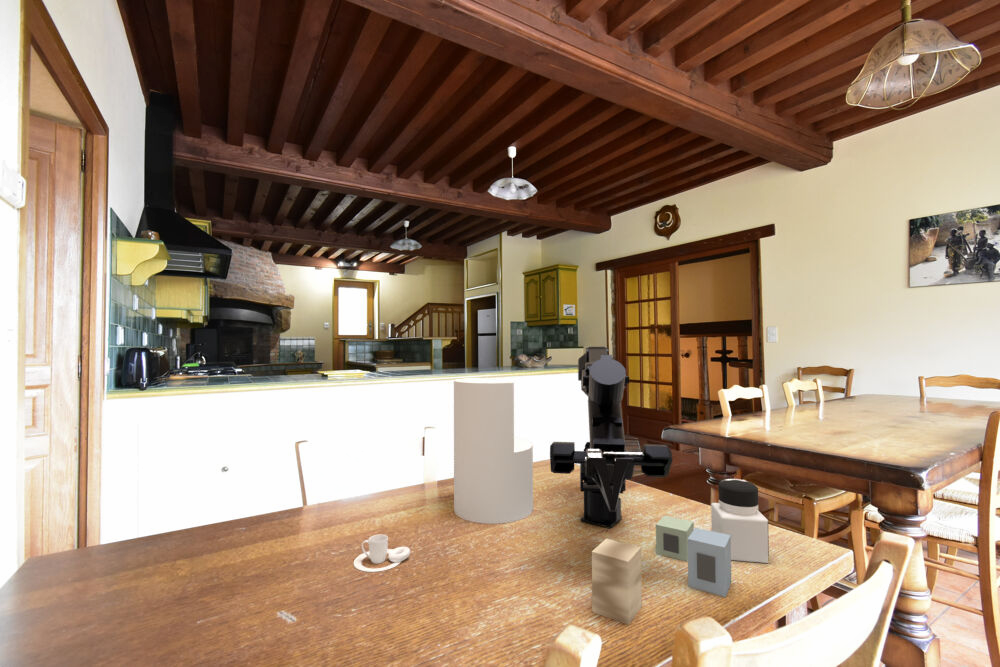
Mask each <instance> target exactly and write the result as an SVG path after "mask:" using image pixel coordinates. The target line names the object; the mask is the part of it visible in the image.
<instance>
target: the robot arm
mask: <svg viewBox="0 0 1000 667" xmlns="http://www.w3.org/2000/svg"><path fill="white" fill-rule="evenodd" d="M577 361H578V362H577V380H578V381H579V382H580V387H581V388H580V389H581V391H582V392H583V393H584V394H585V395H586V396H587V406H588V407H587V409H588V430H589V433H588V434H589V441H586V443H585V444H584V449H583V450H576V449H575V448H576V447H575V446H576V445H575V442H574V441H573V442H572V441H571V442H570V441H553V442H552V443H551V444H550V446H549V461H550V465H549V466H550V472H551V473H553V474H566V475H568V474H569V475H570V474H571V473H573V471H575V465H576V464H577V465H579V489H580V492H582V493H583V516H581V517H580V519H579V520H580V521H581V522H585V523H587V524H588V523H589V524H592V525H596V526H600V527H603V528H604V527H605V528H612V527H613V526H615V525H616V524H617V523H618V522H620V520H622V518H623V517H622V499H621V497H620V494H624V492H626V490H627V489H626V485H627V484H626V482H627V480H629V481H630V480H632V478H633V475H634V469H635V466H640V468H641V469H640V470H641V473H642V474H643V475H645V477H647V478H648V477H649V478H650V477H651V478H665V477H668V476H669V473H670V470H671V467H672V464H673V460H674V458H673V453H672V450H671V448H669V447H668V445H666V444H651V443H649V444H647V443H645V444H643V447H642V450H641V452H636V451H635V452H632V451H627V447H626V440H625V439H626V437H625V429H624V420H623V410H622V401H623V398H624V391H625V388H627V384H628V385H629V384H630V376H628V375H627V374H626V373H627V371H626V368H625V367H624V365H623V364H622V363H621V362H619V361H618V360H615V359H614V358H613V355H612V354H610V352H609V347H606V346H588V347H585V352H584V354H583V355H581V356H580V357H579V358H578V360H577Z"/></svg>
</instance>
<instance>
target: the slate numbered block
mask: <svg viewBox="0 0 1000 667" xmlns="http://www.w3.org/2000/svg"><path fill="white" fill-rule="evenodd" d="M687 577H688V578H687V583H688V585H687V587H688V588H691V589H696V590H699V591H702V592H706V593H709V594H712V595H716V596H719V597H723V598H726V597H727V595H728V593H729V589H730V587H731V585H732V560H731V535H727V534H722V533H718V532H713V531H712V530H707V529H704V528H697V527H694V530H693V532H692V533H691V535H690V536H689V538H688V561H687Z"/></svg>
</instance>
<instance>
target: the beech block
mask: <svg viewBox="0 0 1000 667" xmlns="http://www.w3.org/2000/svg"><path fill="white" fill-rule="evenodd" d="M642 594H643V593H642V547H640V546H636V545H632V544H628V543H627V542H626V543H625V542H622V541H617V540H614V539H611V538H605V539H604V540H603V541H602V542H601V543H600V544H599V545H597V546H596V547H595V548H594V549H593V550H592V551H591V599H592V600H591V602H592V603H591V605H592V606H591V609H592V610H591V612H592V613H594V614H596V615H597V614H598V615H600V616H603V617H605V618H608V619H611V620H613V621H617V622H619V623H622V624H625V625H627V626H629V625H630V624H631V623H632V622H633V620H634V618H635V617H636V615H637V614H638V613H639V612H640V610H641V609H642V601H643V600H642Z"/></svg>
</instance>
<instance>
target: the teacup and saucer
mask: <svg viewBox="0 0 1000 667" xmlns="http://www.w3.org/2000/svg"><path fill="white" fill-rule="evenodd" d="M388 542H389V536H388V535H386V534H381V533H380V534H378V533H377V534H375V535H371V536H370V537H369V538H368V539H365V540H363V541H362V543H361V550H362V553H360V554H359V555H358V556H357V557H356V558H355V559H354V561H353V567H354V568H355V569H357V570H359V571H361V572H365V573H378V572H384V571H388V570H391V569H394V568H395V567H397V566H399V564H401V563H402V561H404V560H406V559H407V558H409V556H410V555H411V549H410V548H409V547H408V546H397V547H396V548H394V549H392V548H388V546H389V545H388V544H389V543H388ZM365 543H367V544H368V551H366V550H365V547H364V544H365ZM366 558H368V559H369V560H370V561H371V563H372V564H376V565H379V564H382V563H384V562H385V560H386V559H388V560H389V561H390V562H392V563H391V564H389V565H386V566H384V567H379V568H377V567H376V568H370V567H366V566H364V565H363V564H362V562H363V560H364V559H366Z"/></svg>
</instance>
